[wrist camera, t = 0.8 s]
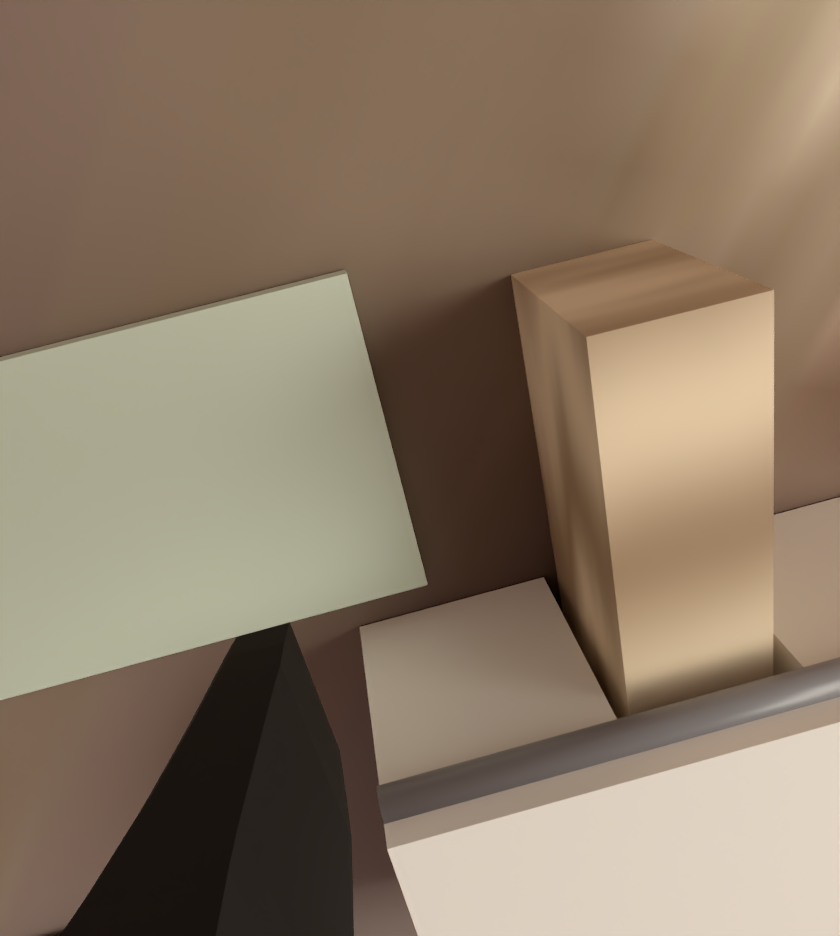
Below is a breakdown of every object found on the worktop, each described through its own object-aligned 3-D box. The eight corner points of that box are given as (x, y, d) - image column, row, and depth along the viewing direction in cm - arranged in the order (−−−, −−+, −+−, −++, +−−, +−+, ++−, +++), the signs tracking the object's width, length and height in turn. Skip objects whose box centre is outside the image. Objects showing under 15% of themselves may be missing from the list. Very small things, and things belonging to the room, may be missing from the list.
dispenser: (853, 752, 25) (1025, 955, 19) (437, 869, 25) (482, 1115, 19) (868, 476, 21) (1102, 633, 15) (355, 615, 20) (382, 834, 14)
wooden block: (674, 598, 22) (773, 728, 17) (564, 627, 22) (634, 766, 17) (648, 239, 17) (774, 289, 13) (509, 273, 17) (586, 336, 13)
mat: (425, 576, 20) (427, 584, 20) (-38, 700, 20) (-44, 711, 19) (345, 269, 16) (346, 273, 16) (-225, 414, 16) (-237, 421, 16)
